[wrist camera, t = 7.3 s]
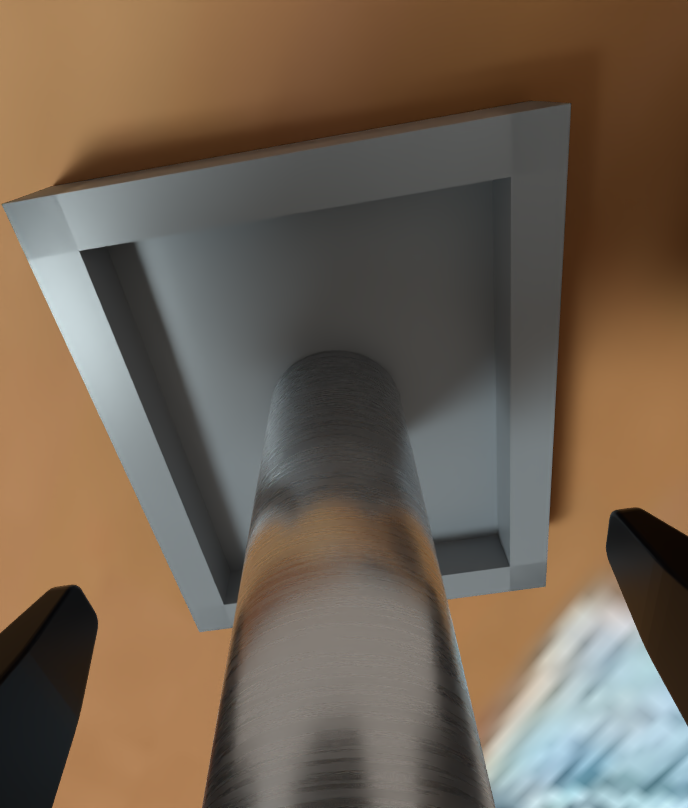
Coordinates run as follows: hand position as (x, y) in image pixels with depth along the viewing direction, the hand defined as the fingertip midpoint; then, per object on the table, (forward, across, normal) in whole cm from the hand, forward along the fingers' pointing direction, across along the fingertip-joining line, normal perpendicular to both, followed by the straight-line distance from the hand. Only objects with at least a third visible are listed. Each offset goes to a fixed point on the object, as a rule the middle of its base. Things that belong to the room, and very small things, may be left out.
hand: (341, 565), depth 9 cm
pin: (+5, 0, 0) cm, 5 cm away
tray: (+6, 0, 0) cm, 6 cm away
